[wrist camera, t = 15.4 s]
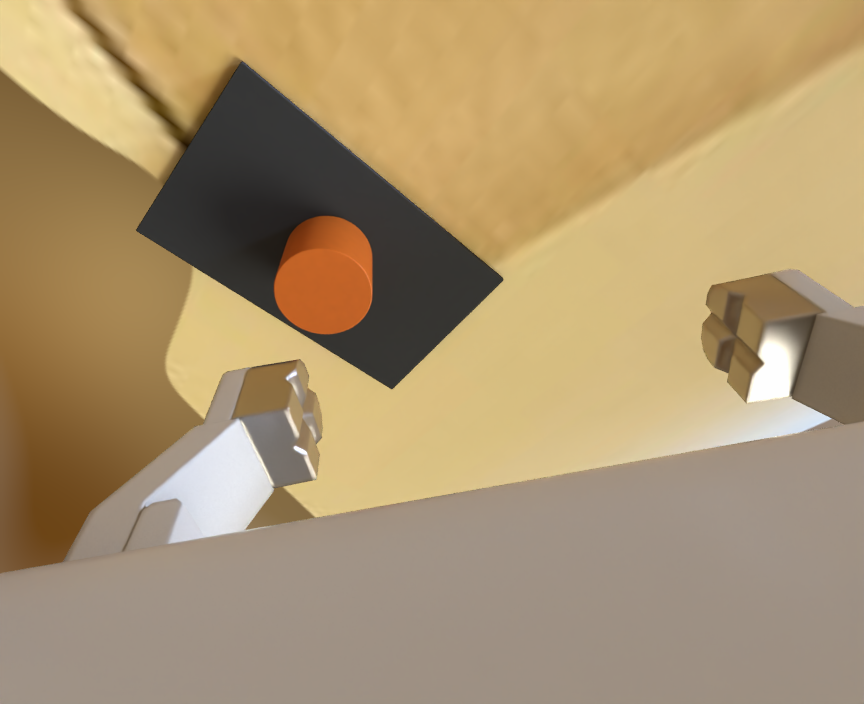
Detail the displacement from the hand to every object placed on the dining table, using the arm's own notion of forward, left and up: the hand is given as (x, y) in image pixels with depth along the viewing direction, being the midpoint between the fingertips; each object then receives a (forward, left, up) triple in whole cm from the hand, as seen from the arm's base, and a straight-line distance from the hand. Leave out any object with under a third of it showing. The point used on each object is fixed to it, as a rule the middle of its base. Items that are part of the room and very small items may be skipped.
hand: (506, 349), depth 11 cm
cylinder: (-1, +10, -24) cm, 26 cm away
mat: (-1, +10, -24) cm, 26 cm away
